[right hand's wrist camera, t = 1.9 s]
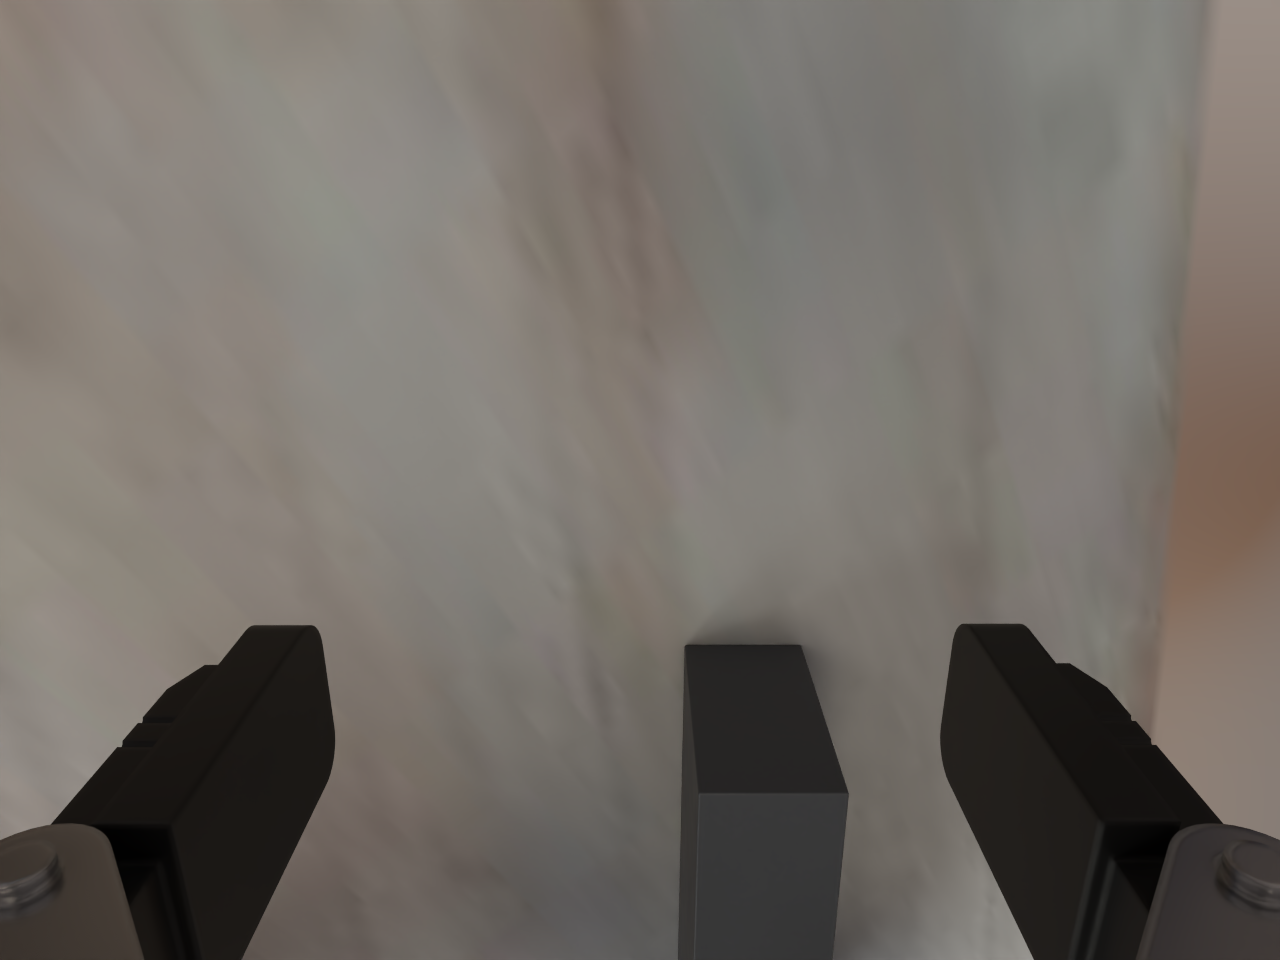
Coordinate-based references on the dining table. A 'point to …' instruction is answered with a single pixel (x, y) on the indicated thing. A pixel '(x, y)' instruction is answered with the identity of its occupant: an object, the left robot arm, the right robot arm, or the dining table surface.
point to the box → (757, 809)
